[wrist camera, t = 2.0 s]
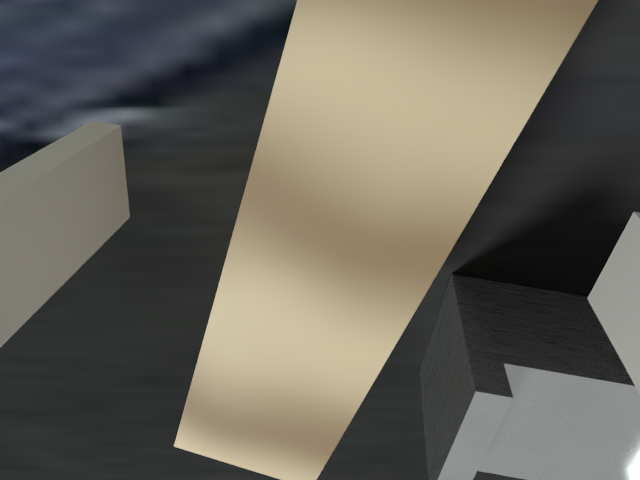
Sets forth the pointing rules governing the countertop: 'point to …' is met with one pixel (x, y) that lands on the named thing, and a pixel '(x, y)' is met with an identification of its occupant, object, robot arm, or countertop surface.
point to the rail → (358, 208)
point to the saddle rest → (525, 388)
